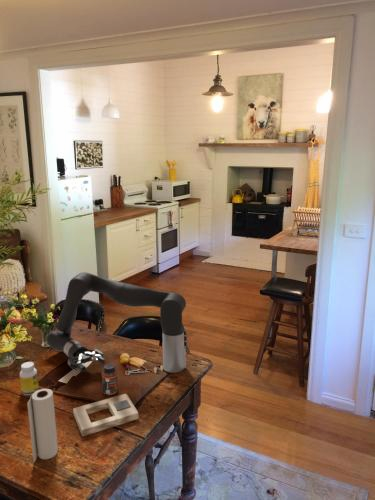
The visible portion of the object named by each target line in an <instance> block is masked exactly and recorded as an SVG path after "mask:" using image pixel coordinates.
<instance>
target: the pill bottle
mask: <svg viewBox="0 0 375 500" xmlns="http://www.w3.org/2000/svg"><path fill="white" fill-rule="evenodd" d="M20 366H21V367H20V368H21V370H20V372H19V382H20V390H21V391H20V392H21V394H22V395H24V396H31V395H32V394H33V393H34V392H35V391H37V390H40V387H39V377H38V370H37V369H36V368H35V363H34V362H33V361H26V362H23V363H22V364H21V365H20Z"/></svg>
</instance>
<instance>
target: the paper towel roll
mask: <svg viewBox="0 0 375 500" xmlns="http://www.w3.org/2000/svg"><path fill="white" fill-rule="evenodd" d="M54 402H55V401H54V392H53V390H52V389H50V388H41V389H40V388H39V390H37V391H35V392H34V393H33V394H32V395H30V398H29V400H28V401H27V404H26V405H27V413H28V420H29V421H28V423H29V432H30V439H31V440H30V441H31V449H32V458H33V463H35V462H36V460H37V457H38V458H39V459H41V460H50V459H52V458H54V457H55V456H56V455H57V454H58V451H59V447H58V445H59V444H58V435H57V434H58V433H57V425H56V423H57V422H56V414H55V411H56V410H55V403H54Z"/></svg>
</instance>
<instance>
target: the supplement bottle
mask: <svg viewBox="0 0 375 500" xmlns="http://www.w3.org/2000/svg"><path fill="white" fill-rule="evenodd" d="M118 383H119V382H118V370H117V369H116V367H115V364H113V363H107V364H104V367H103V370H102V372H101V384H102V393H103V392H104V393H106V394H111V393H114V392H116V391H117V390H118V391H119V387H118V386H119V384H118ZM118 391H117V392H118ZM104 393H103V394H104Z"/></svg>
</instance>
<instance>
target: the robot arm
mask: <svg viewBox="0 0 375 500" xmlns="http://www.w3.org/2000/svg"><path fill="white" fill-rule="evenodd" d="M90 292H93V293H94V292H95V293H98V294H99V293H100V294H103V295H105V296H107V297H108V298H109V299H110V300H111V301H113V302H115V303H116V304H119V305H123V306H128V307H156V308H159V309H160V310H159V312H160V313H159V314H160V316H159V317H160V327H161V329H162V330H161V331H162V369H163V371H165V372H167V373H170V374H172V373H173V374H175V373H180V372H182V371H183V370H184V369H186V368H187V351H186V350H187V349H186V347H185V325H184V324H183V312H184V311H185V308H186V306H187V301H186V299H185V298H184V296H182V294H179V293H177V292H171V291H163V290H155V289H151V288H148V287H143V286H139V285H135V284H132V283H127V282H122V281H117V280H113V279H108V278H104V277H102V276H99V275H95V274H93V273H91V272H90V273H89V272H86V271H84V272H80V273H77V275H75V276H74V277H72V278H71V279H70V280H69V282H68V285H67V290H66V295H65V299H64V304H63V307H62V310H61V311H60V315H59V317H58V319H57V322H56V324H55V327H56V329H57V330H53V331H50V332H49V333H47V336H46V343H47V344H48V346H49V347H51V348H52V349H55V350H57V351H61V352H62V353H64V354H65V355H66V357H68V358H67V365H68V366H69V367H70V368H71V370H72V371H75V370H76V369H77V370H80V371H82V372H86V371H87V366H86V365H84V364H86V363H89V362H94V363H95V361H96V362H98V363H100V364H102V365H105V361H106V360H105V358H104V352H103V351H101V350H99V349H98V348H94V350H93V351H90V350H89V349H88V348H87V347H86V346H85V345H83V344H82V343H81V342H80V341H76V340H75V339H74V338H72V329H73V328H72V327H73V326H74V323H75V321H76V319H77V313H78V306H79V304H80V303H81V300H83V298H84V297H85V296H86V295H87V294H89V293H90Z"/></svg>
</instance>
